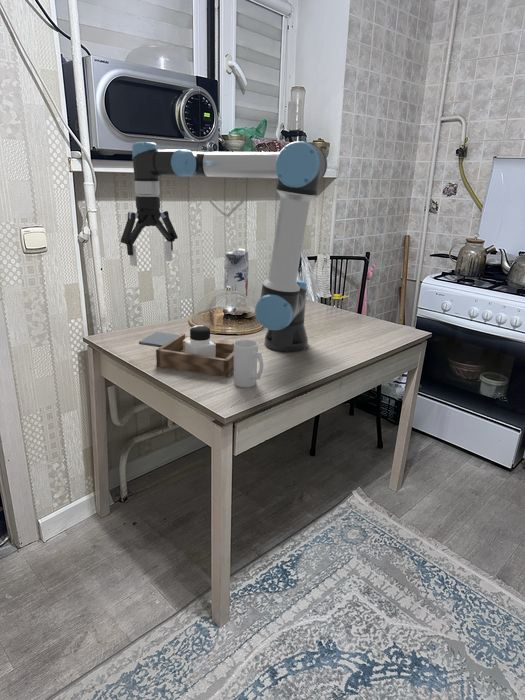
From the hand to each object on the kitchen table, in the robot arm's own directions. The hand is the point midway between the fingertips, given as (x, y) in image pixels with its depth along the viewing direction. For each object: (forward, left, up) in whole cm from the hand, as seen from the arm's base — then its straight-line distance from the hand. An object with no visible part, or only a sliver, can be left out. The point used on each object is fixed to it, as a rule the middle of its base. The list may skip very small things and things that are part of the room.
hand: (151, 263), depth 157 cm
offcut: (-19, +8, -27) cm, 34 cm away
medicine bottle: (-24, +15, -27) cm, 39 cm away
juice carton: (-14, -43, -27) cm, 53 cm away
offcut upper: (-29, +8, -24) cm, 38 cm away
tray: (-24, +13, -27) cm, 38 cm away
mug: (-43, +24, -27) cm, 56 cm away
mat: (-4, 0, -27) cm, 27 cm away
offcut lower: (-29, +8, -27) cm, 40 cm away
